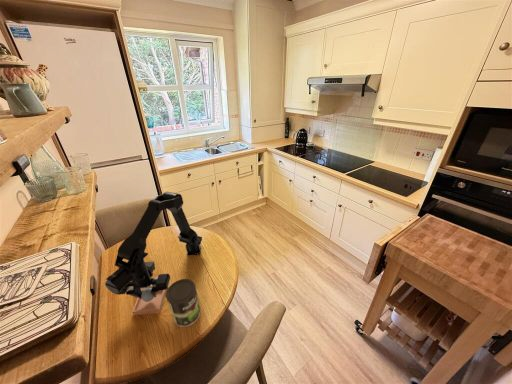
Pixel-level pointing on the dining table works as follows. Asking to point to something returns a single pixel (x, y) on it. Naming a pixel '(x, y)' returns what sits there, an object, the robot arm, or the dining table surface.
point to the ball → (147, 295)
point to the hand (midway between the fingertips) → (149, 297)
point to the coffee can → (183, 302)
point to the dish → (149, 304)
